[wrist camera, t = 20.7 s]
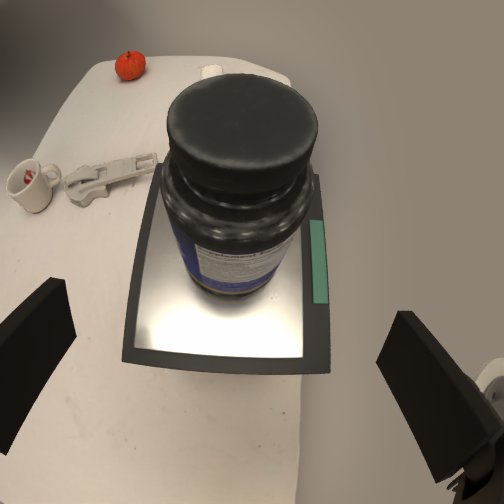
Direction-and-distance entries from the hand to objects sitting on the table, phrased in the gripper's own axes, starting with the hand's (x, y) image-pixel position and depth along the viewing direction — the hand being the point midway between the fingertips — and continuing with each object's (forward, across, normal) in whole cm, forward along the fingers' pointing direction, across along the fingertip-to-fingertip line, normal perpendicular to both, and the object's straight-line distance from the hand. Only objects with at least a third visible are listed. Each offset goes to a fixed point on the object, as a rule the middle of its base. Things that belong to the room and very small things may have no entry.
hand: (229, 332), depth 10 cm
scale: (+11, 0, -2) cm, 11 cm away
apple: (+63, -30, +24) cm, 74 cm away
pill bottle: (+9, 0, 0) cm, 9 cm away
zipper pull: (+39, -22, -1) cm, 45 cm away
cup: (+37, -36, -4) cm, 52 cm away
